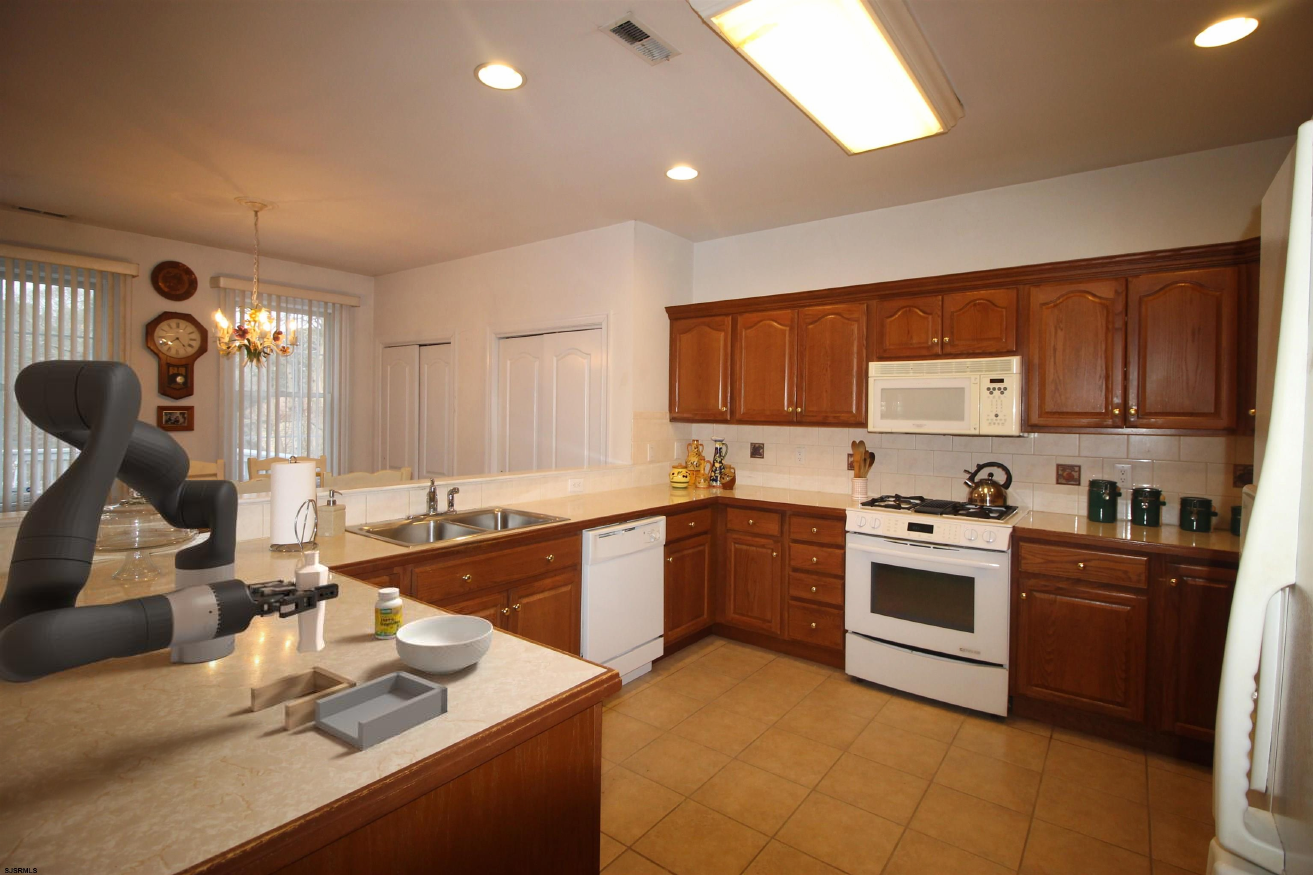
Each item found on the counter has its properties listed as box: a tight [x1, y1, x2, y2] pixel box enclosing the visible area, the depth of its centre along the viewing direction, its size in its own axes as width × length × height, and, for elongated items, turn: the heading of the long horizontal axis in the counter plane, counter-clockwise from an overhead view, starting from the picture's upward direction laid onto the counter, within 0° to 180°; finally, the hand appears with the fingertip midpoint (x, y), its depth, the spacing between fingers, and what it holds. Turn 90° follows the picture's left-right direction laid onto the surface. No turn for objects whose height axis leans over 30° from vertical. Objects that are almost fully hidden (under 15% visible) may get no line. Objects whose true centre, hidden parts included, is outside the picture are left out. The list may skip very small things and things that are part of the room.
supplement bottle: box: [374, 587, 404, 640], centre depth 130 cm, size 5×5×10 cm
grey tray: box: [314, 669, 448, 751], centre depth 94 cm, size 14×12×4 cm
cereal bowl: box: [395, 614, 494, 675], centre depth 115 cm, size 17×17×7 cm
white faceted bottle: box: [294, 550, 329, 654], centre depth 96 cm, size 5×4×15 cm
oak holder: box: [250, 665, 358, 731], centre depth 98 cm, size 10×11×4 cm
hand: (327, 587), depth 98 cm, fingers closed on white faceted bottle, 4 cm apart
